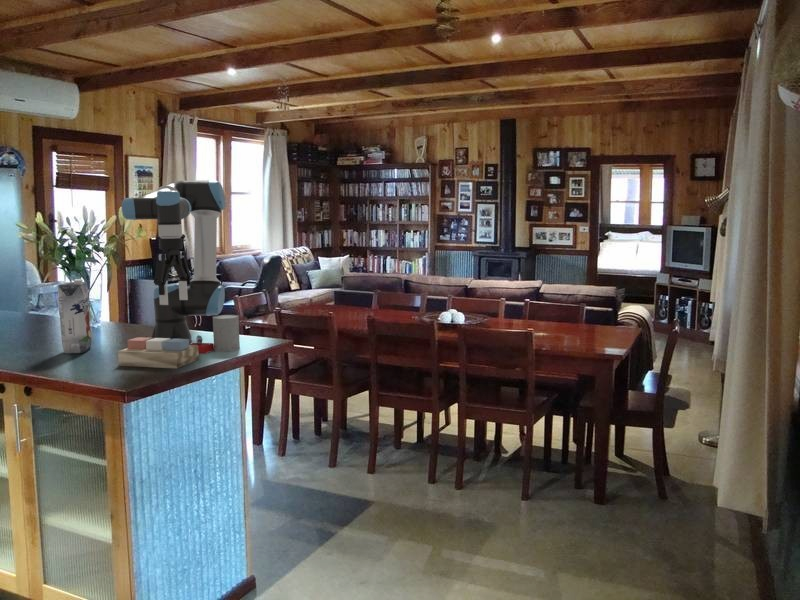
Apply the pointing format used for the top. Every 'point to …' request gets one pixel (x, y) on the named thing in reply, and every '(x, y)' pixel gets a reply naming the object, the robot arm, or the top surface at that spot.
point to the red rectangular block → (203, 346)
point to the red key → (137, 343)
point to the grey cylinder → (226, 333)
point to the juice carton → (74, 316)
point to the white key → (156, 343)
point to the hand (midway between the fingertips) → (174, 302)
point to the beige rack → (158, 357)
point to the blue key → (176, 344)
